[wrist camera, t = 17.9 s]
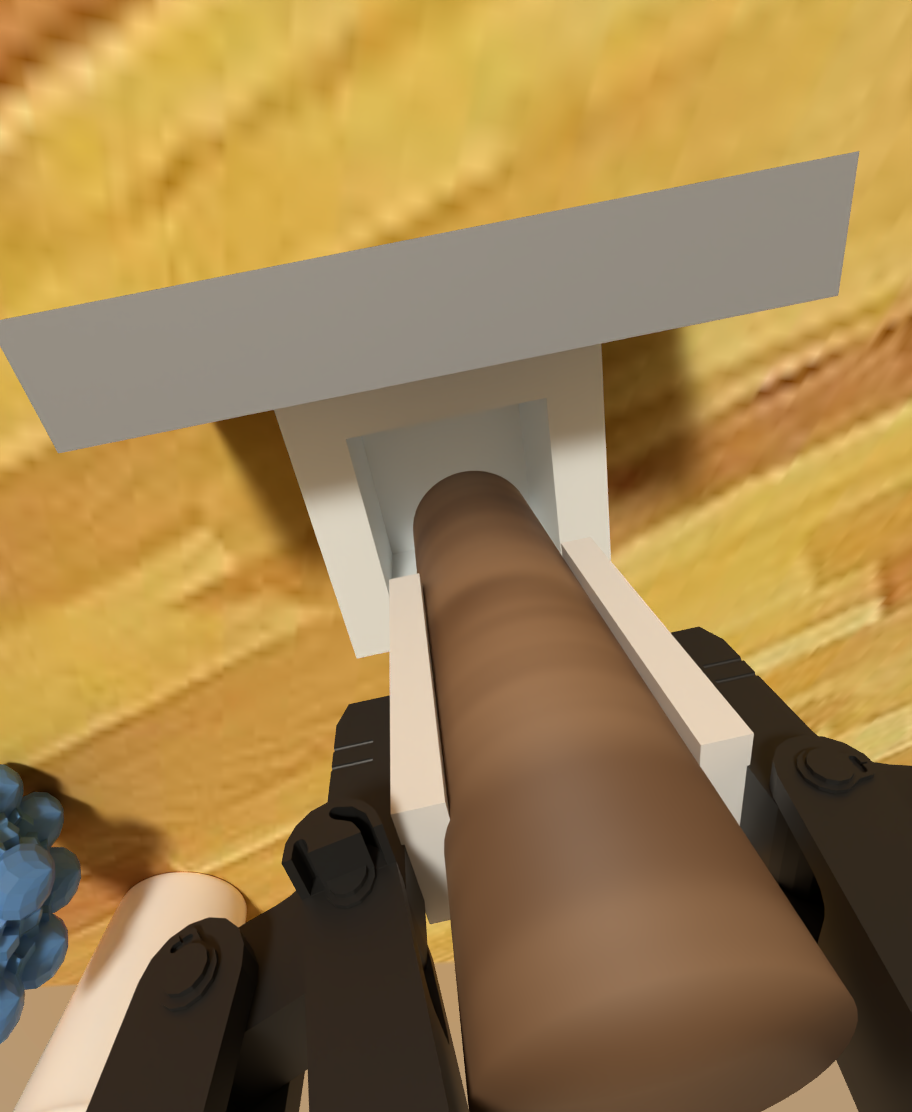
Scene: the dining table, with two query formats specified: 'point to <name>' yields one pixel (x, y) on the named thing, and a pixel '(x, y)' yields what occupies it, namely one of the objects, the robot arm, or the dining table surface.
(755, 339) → the dining table surface
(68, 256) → the dining table surface
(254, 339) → the wall
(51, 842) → the grapes
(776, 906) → the dowel
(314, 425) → the white square open box
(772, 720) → the robot arm
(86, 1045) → the candle holder
